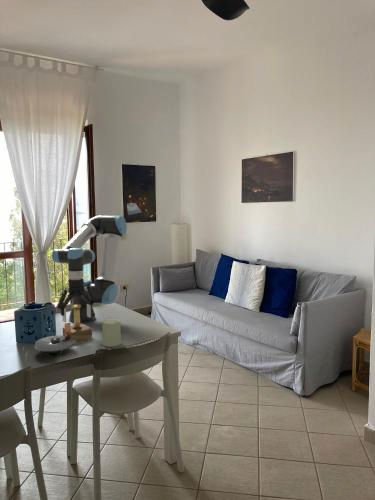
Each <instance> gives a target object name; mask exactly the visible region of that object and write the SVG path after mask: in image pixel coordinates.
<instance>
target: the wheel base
mask: <svg viewBox="0 0 375 500" xmlns="http://www.w3.org/2000/svg"><path fill="white" fill-rule="evenodd" d="M60 352H61V353H62V352H63V351H57V352H48V353H49V354H50V353H51V354H50V355H57V353H59V354H61V353H60Z"/></svg>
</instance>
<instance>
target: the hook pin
mask: <svg viewBox="0 0 375 500" xmlns="http://www.w3.org/2000/svg"><path fill="white" fill-rule="evenodd" d="M72 308H74V322H73V325H74V330H77V329H80V324H81V323H80V308H81V305H80V304H76V305H72V304H71V309H72Z"/></svg>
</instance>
